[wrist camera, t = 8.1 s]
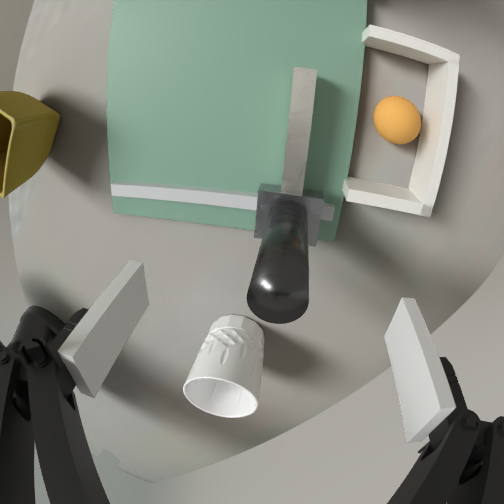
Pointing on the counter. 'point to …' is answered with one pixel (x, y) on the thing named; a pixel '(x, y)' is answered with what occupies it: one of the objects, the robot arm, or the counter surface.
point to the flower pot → (23, 138)
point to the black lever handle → (287, 219)
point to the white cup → (228, 368)
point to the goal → (432, 127)
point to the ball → (397, 120)
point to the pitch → (227, 104)
